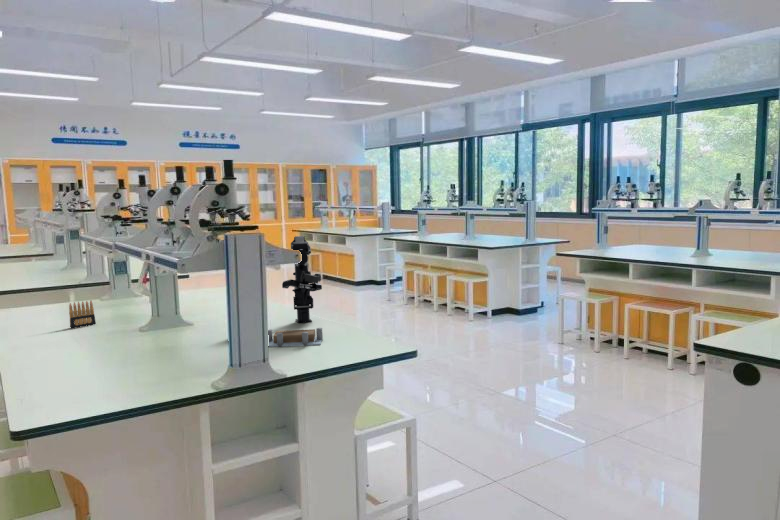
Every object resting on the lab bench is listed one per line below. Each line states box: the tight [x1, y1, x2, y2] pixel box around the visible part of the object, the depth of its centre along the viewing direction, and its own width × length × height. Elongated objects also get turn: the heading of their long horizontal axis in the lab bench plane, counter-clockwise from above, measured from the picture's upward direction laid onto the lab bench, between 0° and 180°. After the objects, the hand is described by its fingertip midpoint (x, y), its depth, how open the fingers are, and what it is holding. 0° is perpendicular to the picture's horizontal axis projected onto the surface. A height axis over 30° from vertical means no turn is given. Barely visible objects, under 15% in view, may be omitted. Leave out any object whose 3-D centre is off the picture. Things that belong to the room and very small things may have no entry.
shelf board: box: [272, 328, 316, 343], centre depth 236 cm, size 3×16×8 cm
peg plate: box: [267, 327, 324, 348], centre depth 234 cm, size 10×23×5 cm, turn 92°
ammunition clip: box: [68, 300, 97, 329], centre depth 273 cm, size 11×2×12 cm, turn 129°
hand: (303, 305), depth 248 cm, fingers closed
